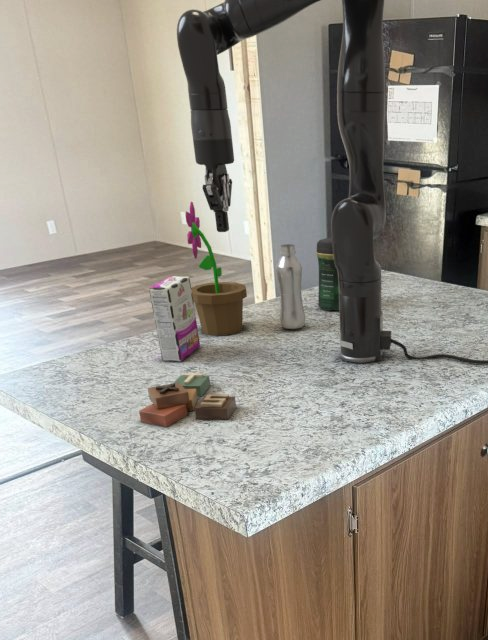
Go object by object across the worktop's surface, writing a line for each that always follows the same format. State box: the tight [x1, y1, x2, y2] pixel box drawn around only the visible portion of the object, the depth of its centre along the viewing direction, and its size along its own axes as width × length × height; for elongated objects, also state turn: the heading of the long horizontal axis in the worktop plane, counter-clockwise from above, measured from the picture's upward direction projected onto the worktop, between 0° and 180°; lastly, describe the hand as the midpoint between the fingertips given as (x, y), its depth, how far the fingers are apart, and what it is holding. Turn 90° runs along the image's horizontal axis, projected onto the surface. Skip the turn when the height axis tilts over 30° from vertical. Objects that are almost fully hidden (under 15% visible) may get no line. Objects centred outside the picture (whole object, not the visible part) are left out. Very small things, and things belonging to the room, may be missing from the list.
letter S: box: [194, 393, 237, 421], centre depth 130 cm, size 6×6×3 cm
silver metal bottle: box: [275, 243, 306, 330], centre depth 173 cm, size 6×7×20 cm
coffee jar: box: [316, 236, 339, 312], centre depth 191 cm, size 10×8×19 cm
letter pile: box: [138, 382, 199, 428], centre depth 130 cm, size 8×14×5 cm, turn 174°
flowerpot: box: [185, 201, 248, 337], centre depth 171 cm, size 14×14×30 cm
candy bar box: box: [148, 275, 201, 363], centre depth 158 cm, size 11×5×16 cm, turn 168°
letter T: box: [173, 372, 212, 397], centre depth 140 cm, size 6×6×3 cm
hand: (223, 231), depth 145 cm, fingers closed
